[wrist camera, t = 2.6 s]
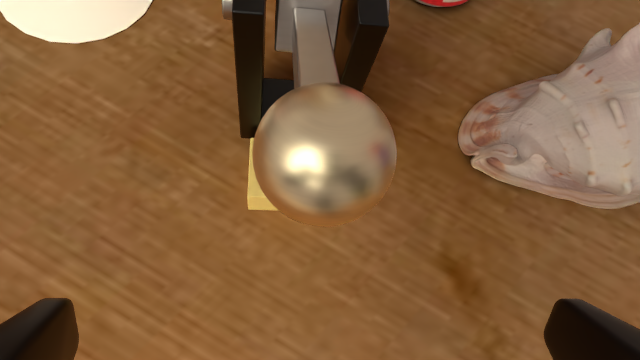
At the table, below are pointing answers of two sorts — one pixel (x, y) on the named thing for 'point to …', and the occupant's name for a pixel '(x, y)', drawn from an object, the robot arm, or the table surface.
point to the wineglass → (73, 17)
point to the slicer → (261, 93)
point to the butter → (256, 189)
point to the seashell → (567, 128)
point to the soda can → (442, 2)
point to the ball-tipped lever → (321, 128)
